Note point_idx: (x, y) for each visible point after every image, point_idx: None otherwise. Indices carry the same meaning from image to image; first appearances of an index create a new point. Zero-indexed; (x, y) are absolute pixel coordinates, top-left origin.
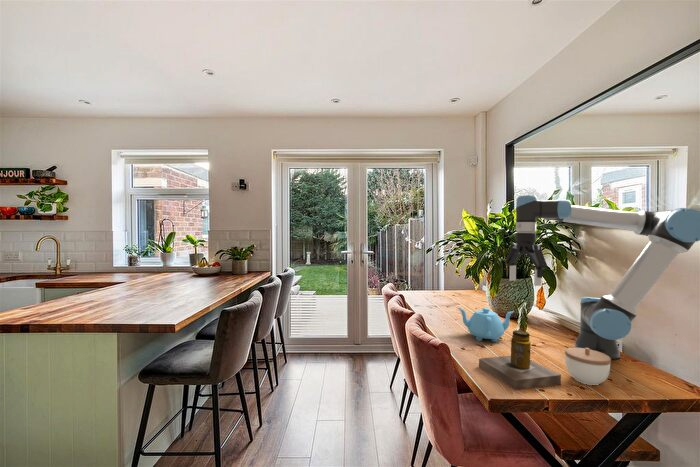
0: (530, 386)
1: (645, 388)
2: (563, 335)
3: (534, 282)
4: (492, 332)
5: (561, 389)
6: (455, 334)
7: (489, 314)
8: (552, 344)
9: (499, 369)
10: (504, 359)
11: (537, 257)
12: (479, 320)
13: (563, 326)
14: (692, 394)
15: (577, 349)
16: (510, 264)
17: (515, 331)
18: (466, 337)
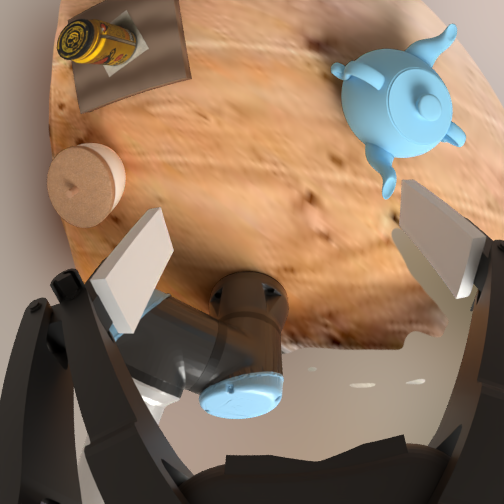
0: None
1: (93, 247)
2: (355, 314)
3: (150, 216)
4: (345, 85)
5: (74, 101)
6: (418, 40)
7: (399, 100)
8: (308, 250)
9: (109, 2)
10: (158, 26)
11: (17, 385)
12: (388, 59)
13: (396, 346)
14: None
15: (95, 185)
16: (490, 251)
17: (80, 25)
18: None
